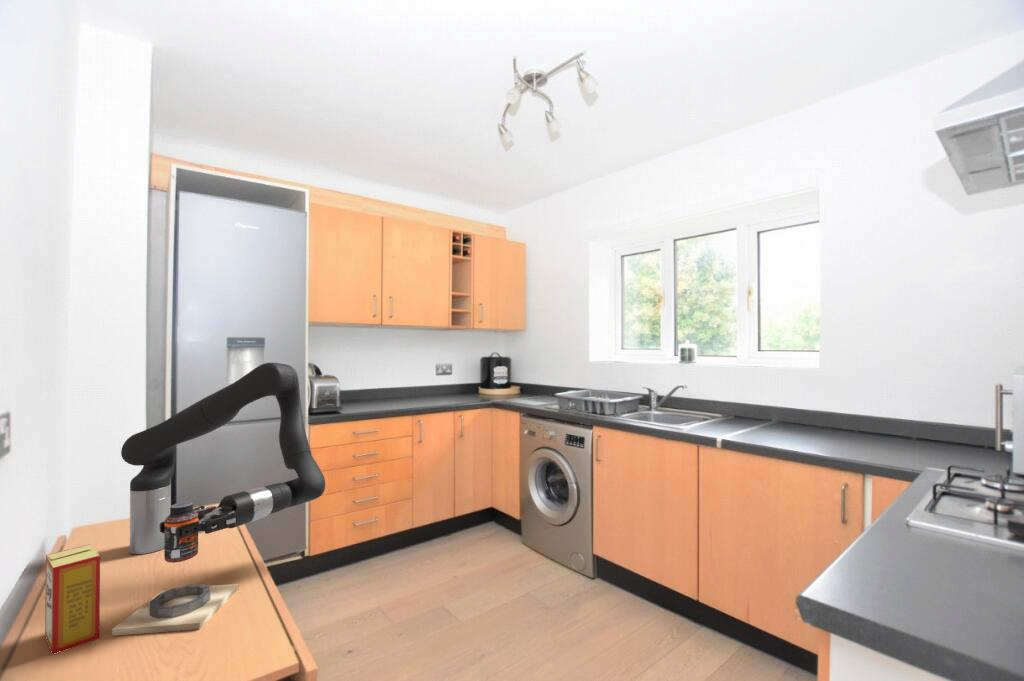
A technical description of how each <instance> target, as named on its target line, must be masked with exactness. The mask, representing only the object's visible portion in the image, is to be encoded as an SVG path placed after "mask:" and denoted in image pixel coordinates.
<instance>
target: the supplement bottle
mask: <svg viewBox="0 0 1024 681" xmlns="http://www.w3.org/2000/svg"><path fill="white" fill-rule="evenodd" d="M193 509H194V503H193V502H191V501H183V502H178V503H174V504H172V505H171V507H170V515H169V516H168V517H167V518H166V519H165V530H164V531H165V534H164V548H163V550H164V551H163V552H164V554H163V555H164V561H165V562H167V563H172V564H173V563H175V564H176V563H182V562H185V561H189V560H191V559H192V558H194V557H196V556H197V555H198V552H199V543H200V542H199V533H194V534H191V535H188V536H185V537H182V538H176V531H175V530H176V528H177V527H180V526H183V525H186V524H189V523H193V522H197V521H198V514H197V513H196V512H194V511H193Z"/></svg>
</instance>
